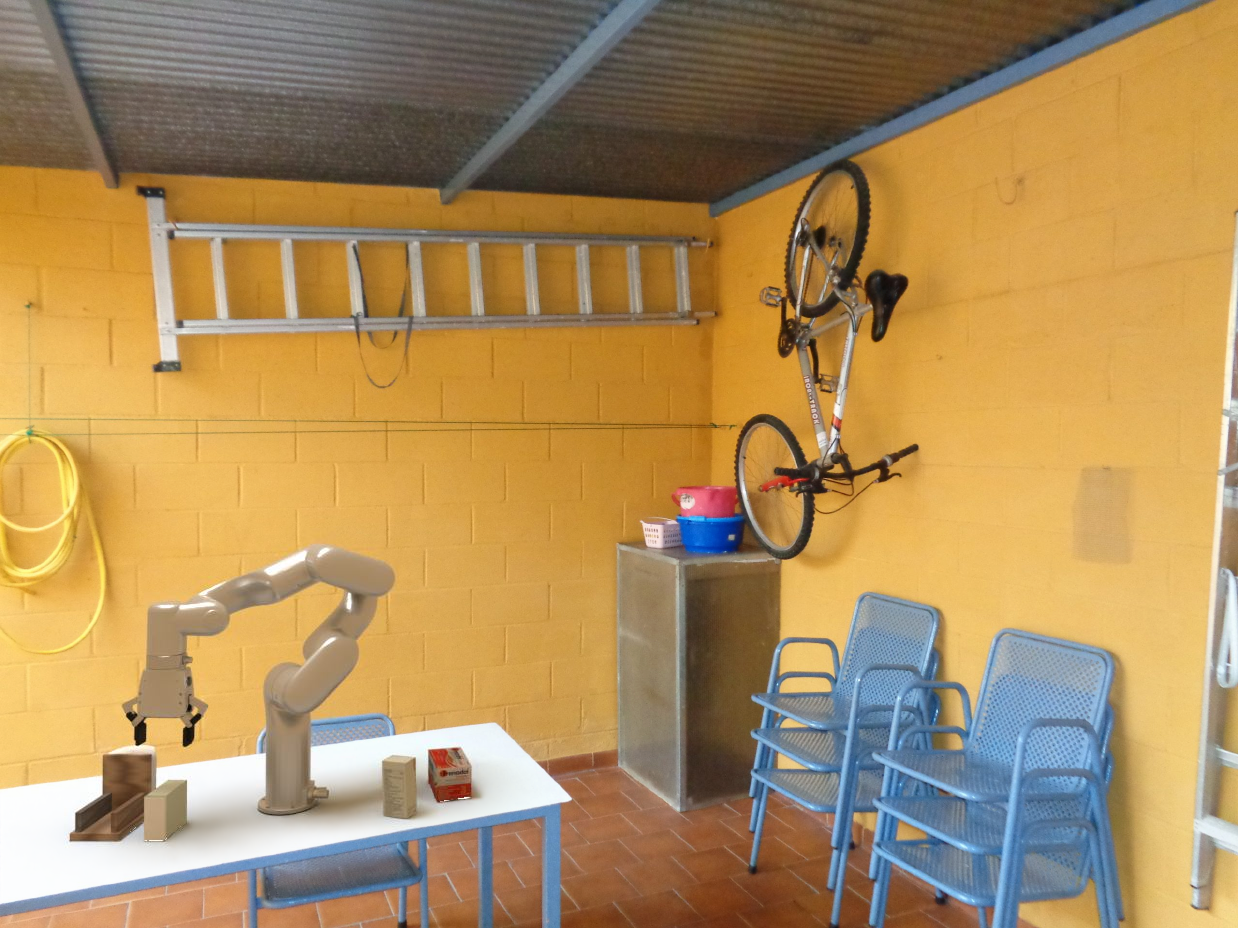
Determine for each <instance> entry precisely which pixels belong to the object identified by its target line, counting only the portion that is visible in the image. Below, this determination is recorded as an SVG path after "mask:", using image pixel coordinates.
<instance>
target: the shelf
mask: <svg viewBox="0 0 1238 928" xmlns="http://www.w3.org/2000/svg"><path fill="white" fill-rule="evenodd" d="M101 783H102V784H101V785H102V788H101V790H102V793H101V795H100V796H99V797H97V798H95V799H94V800H92V801H91V802H89V803H88V804H86V805H85V806H83V807H82V808H80V809H79V810H77V811H76V812H74V830H73V831H70V833H69V842H119V841H118V840H120V841H121V840H123V839H124V838H125V837H126V835H127V834H128V833H129V832H130V831H132V830H133V829H134V828H135V827H137V826H138V827H140V826H141V825H142V824H143V823H144V797H145V796H146V795H148V794H149V793H151V792H152V754H108V753H104V754H102V782H101ZM142 822H143V823H142ZM141 823H142V824H141ZM140 824H141V825H140ZM139 825H140V826H139ZM138 827H137V828H138ZM134 830H135V829H134ZM134 830H133V831H134ZM133 831H132V832H133ZM129 834H130V833H129ZM129 834H128V835H129ZM128 835H127V836H128ZM124 836H125V837H124ZM123 837H124V838H123ZM122 838H123V839H122Z"/></svg>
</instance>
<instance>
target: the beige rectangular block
mask: <svg viewBox="0 0 1238 928" xmlns="http://www.w3.org/2000/svg"><path fill="white" fill-rule="evenodd" d="M185 822H186V823H187V822H188V779H167V780H166V781H164V782H163V783H161V784H160V785H158V786H157V787H156V789H155V790H153V791H152V792H151V793H149V794H148V795H146V796H145V797H144V822H143V841H144V840H147V841H146V842H150V841H149V840H163V841H164V840H165V839H166V838H168V837H169V836H170V835H171V834H172V833H173V832H175V831H176V830H177V829H178V828H179V827H180V826H182V825H183V824H184V823H185ZM186 823H185V824H186ZM185 824H184V825H185ZM184 825H183V826H184ZM183 826H182V827H183ZM180 828H181V827H180ZM180 828H179V829H180ZM179 829H178V830H179ZM178 830H177V831H178ZM177 831H176V832H177ZM176 832H175V833H176ZM173 834H174V833H173ZM173 834H172V835H173ZM172 835H171V836H172ZM171 836H170V837H171ZM170 837H169V838H170ZM169 838H168V839H169ZM166 840H167V839H166ZM166 840H165V841H166ZM165 841H164V842H165Z"/></svg>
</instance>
